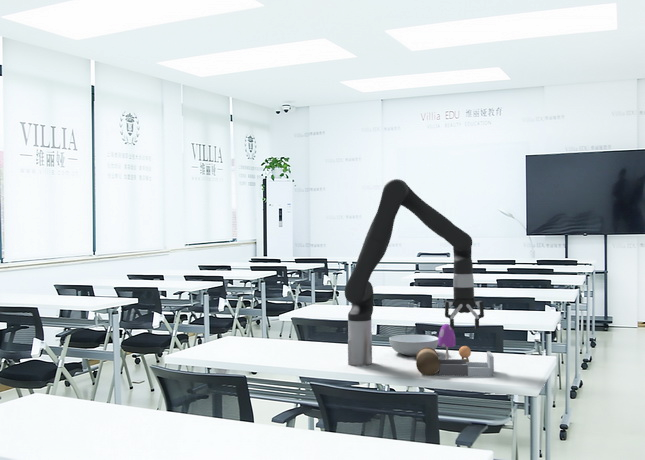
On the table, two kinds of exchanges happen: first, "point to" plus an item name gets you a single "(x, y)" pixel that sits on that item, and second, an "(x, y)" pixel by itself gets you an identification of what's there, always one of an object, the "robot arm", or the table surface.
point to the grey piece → (467, 367)
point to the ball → (464, 352)
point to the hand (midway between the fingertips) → (464, 328)
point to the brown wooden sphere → (427, 361)
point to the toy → (446, 338)
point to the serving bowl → (412, 343)
